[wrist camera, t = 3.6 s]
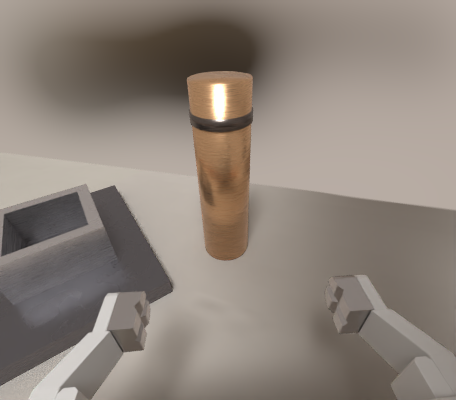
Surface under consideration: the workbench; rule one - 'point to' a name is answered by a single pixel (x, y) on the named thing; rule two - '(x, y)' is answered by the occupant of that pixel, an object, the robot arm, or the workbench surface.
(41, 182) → the workbench surface
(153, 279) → the dark grey piece
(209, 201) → the thermos bottle
